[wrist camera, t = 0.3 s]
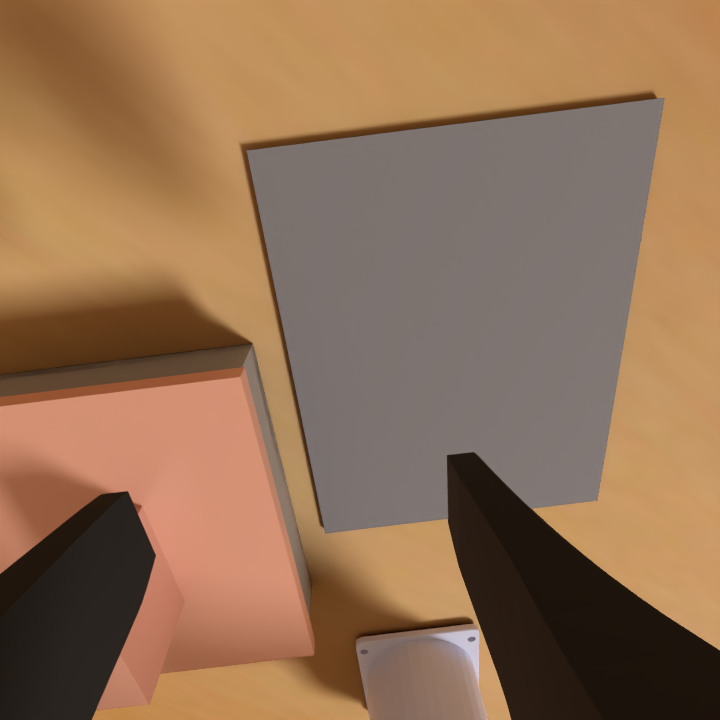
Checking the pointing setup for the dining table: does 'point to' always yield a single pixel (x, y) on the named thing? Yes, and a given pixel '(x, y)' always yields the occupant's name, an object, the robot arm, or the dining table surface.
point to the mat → (457, 301)
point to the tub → (173, 367)
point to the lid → (165, 515)
